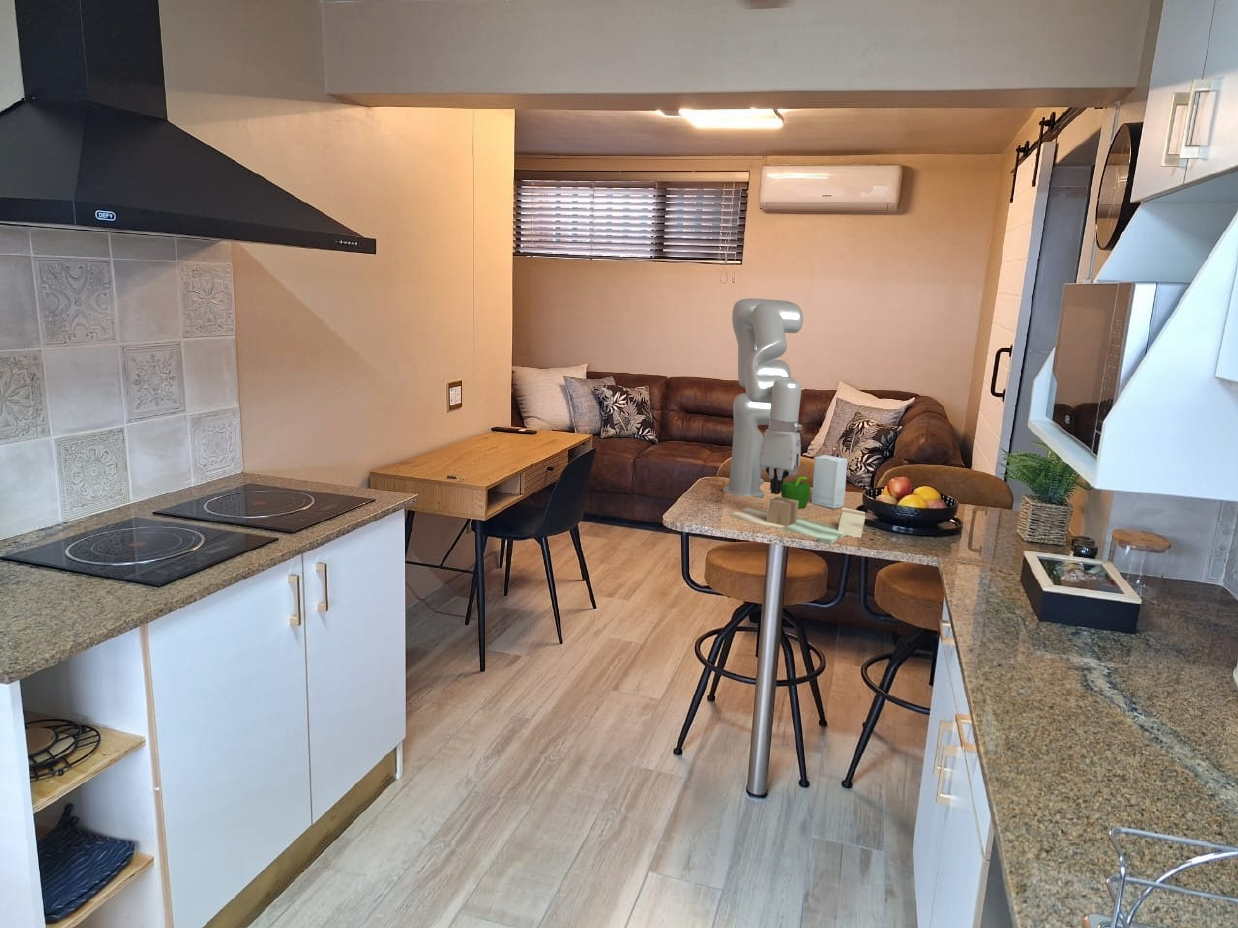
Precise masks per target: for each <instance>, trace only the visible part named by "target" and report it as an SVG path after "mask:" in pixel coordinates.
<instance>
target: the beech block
mask: <svg viewBox="0 0 1238 928" xmlns="http://www.w3.org/2000/svg"><path fill="white" fill-rule="evenodd" d="M865 521H866V512H865V511H860V510H857V509H851V508H846V507H841V510H840V514H839V519H838V524H837V525H838V526H837V527H838V531H839V532H845V536H844V537H848V536H853V537H852V538H855V537H859V538H858V539H861V538H862V535H863V534H862V533H863V530H864V526H865Z"/></svg>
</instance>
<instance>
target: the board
mask: <svg viewBox="0 0 1238 928" xmlns="http://www.w3.org/2000/svg"><path fill="white" fill-rule="evenodd" d="M767 513H768V510H764V509H761V508H760V509H759V508H755V507H751V506H748V507H745V508H743V509H740V510H738V511H736V512H732V513H730V514H728V515H726V517H728V518H732V519H736V520H740V521H746V522H749V523H753V524H757V525H762V526H766V527H771V528H775V529H779V530H783V531H787V532H791V533H797V534H801V535H803V536H804V535H805V536H809V537H813V538H817V539H815V542H818V543H823V544H828V545H832V544H833V543H835V542H837V541H839V540H841V539H842V538H844V537H846V536H845V532H839V531H838V526H837V525H831V524H826V523H823V522H819V521H814V520H810V519H804V518H800V517H797V521H796V523H794V524H791V525H789V526H783V525H778V524H774V523H770V522H767ZM843 536H844V537H843ZM838 539H839V540H838ZM836 540H837V541H836ZM834 541H835V542H834Z"/></svg>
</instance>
